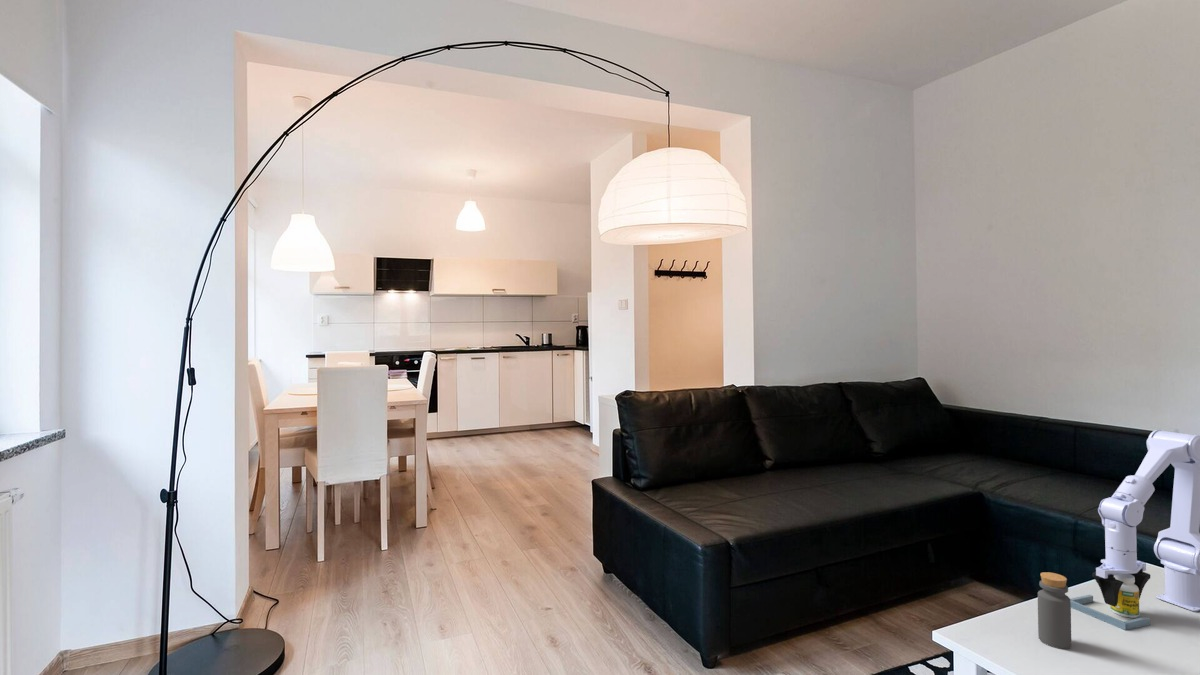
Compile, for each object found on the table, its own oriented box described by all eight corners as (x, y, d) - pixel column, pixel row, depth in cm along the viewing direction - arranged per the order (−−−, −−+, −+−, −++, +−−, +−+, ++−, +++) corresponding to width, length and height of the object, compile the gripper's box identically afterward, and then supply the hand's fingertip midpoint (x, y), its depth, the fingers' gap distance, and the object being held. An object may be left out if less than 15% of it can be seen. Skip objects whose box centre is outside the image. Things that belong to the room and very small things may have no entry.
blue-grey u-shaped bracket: (1089, 600, 146) (1089, 594, 146) (1149, 624, 133) (1149, 618, 133) (1066, 605, 143) (1066, 599, 143) (1125, 630, 131) (1125, 623, 131)
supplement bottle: (1127, 608, 141) (1126, 570, 141) (1145, 619, 136) (1145, 579, 136) (1104, 607, 142) (1103, 570, 142) (1122, 618, 136) (1121, 579, 136)
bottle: (1059, 635, 129) (1057, 571, 129) (1078, 649, 123) (1076, 582, 123) (1032, 634, 130) (1031, 570, 130) (1050, 648, 124) (1048, 581, 124)
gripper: (1122, 538, 144) (1123, 591, 144) (1081, 545, 140) (1083, 599, 140) (1155, 548, 137) (1156, 603, 137) (1114, 556, 133) (1115, 612, 133)
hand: (1121, 602), depth 138 cm, fingers open, 7 cm apart
